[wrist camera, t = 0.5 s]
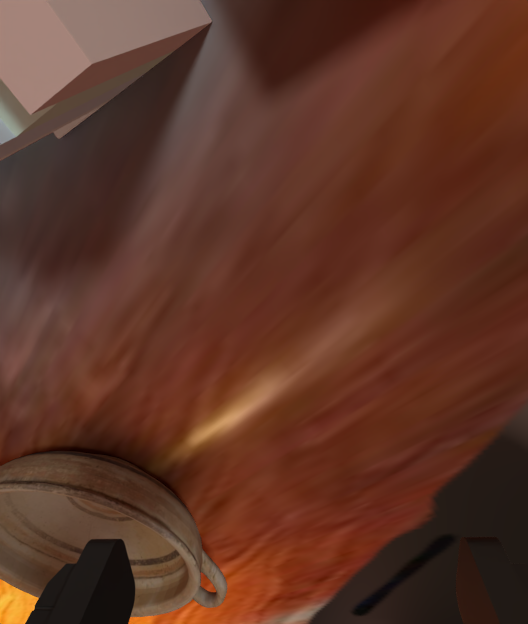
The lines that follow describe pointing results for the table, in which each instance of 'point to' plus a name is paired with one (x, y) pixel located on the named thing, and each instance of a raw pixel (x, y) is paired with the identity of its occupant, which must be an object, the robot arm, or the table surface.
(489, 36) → the table surface
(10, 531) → the ceramic bowl
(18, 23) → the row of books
